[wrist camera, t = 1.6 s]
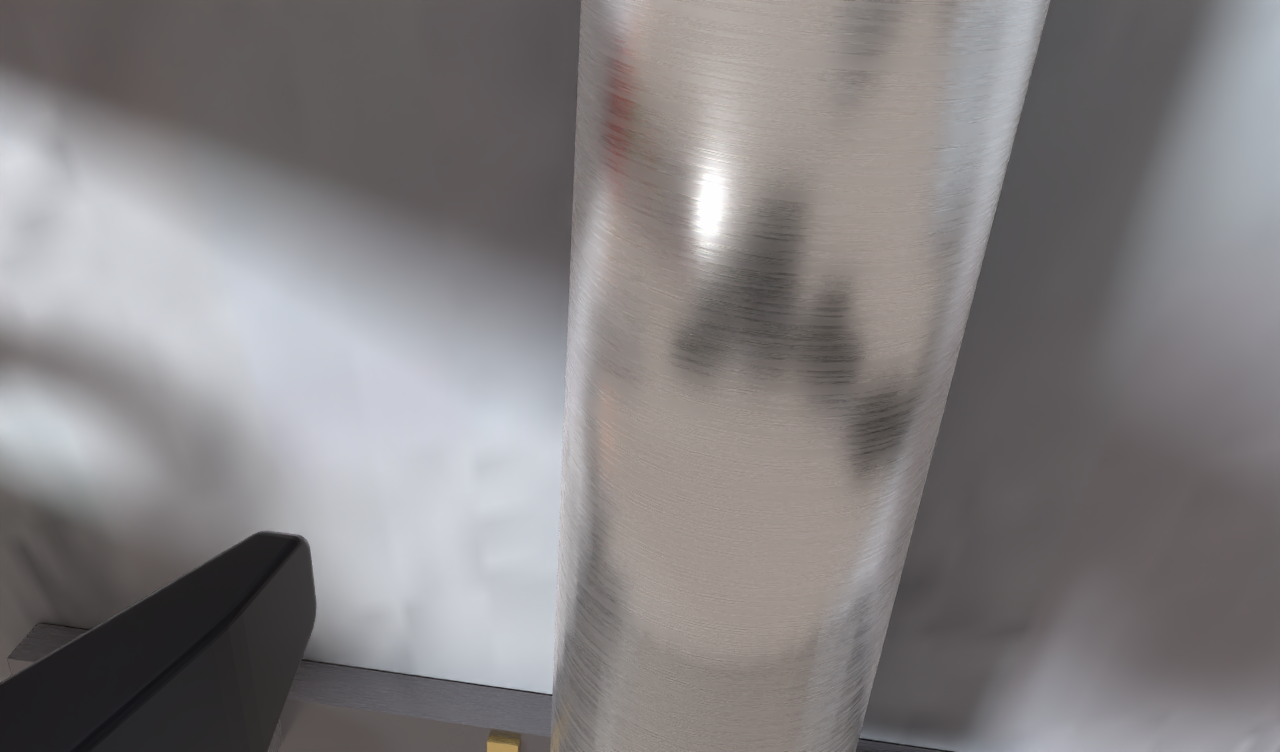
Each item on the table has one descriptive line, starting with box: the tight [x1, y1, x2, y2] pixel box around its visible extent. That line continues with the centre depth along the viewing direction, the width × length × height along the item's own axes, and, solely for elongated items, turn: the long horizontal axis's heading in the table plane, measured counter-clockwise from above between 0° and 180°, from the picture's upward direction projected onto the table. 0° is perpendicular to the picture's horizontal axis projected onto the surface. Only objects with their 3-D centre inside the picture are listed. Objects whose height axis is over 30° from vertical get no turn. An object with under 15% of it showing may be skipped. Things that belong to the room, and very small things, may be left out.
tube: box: [550, 0, 1050, 752], centre depth 14 cm, size 16×5×5 cm, turn 176°
